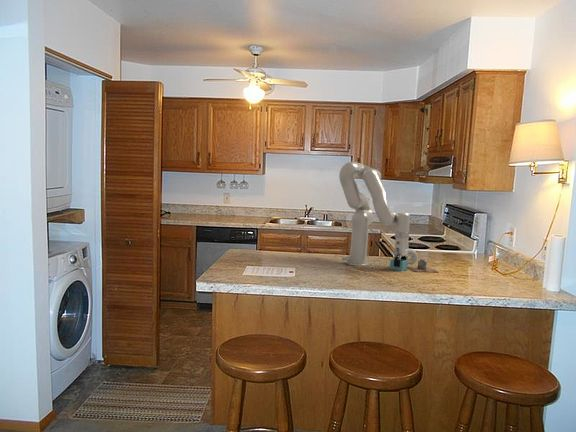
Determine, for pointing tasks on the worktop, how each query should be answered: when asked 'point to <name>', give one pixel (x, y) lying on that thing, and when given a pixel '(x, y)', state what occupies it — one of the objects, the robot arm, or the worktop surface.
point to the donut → (414, 256)
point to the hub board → (422, 267)
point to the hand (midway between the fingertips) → (400, 265)
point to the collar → (400, 265)
